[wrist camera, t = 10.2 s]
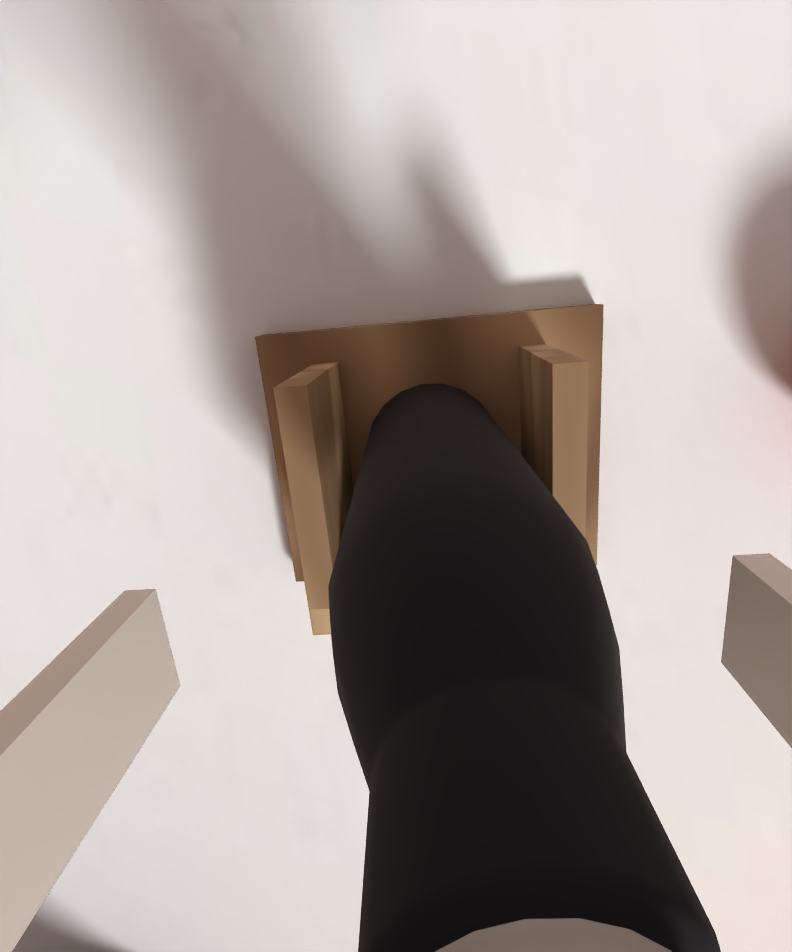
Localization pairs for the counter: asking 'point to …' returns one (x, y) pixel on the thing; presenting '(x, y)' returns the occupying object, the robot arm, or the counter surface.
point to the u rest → (429, 362)
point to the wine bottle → (489, 707)
